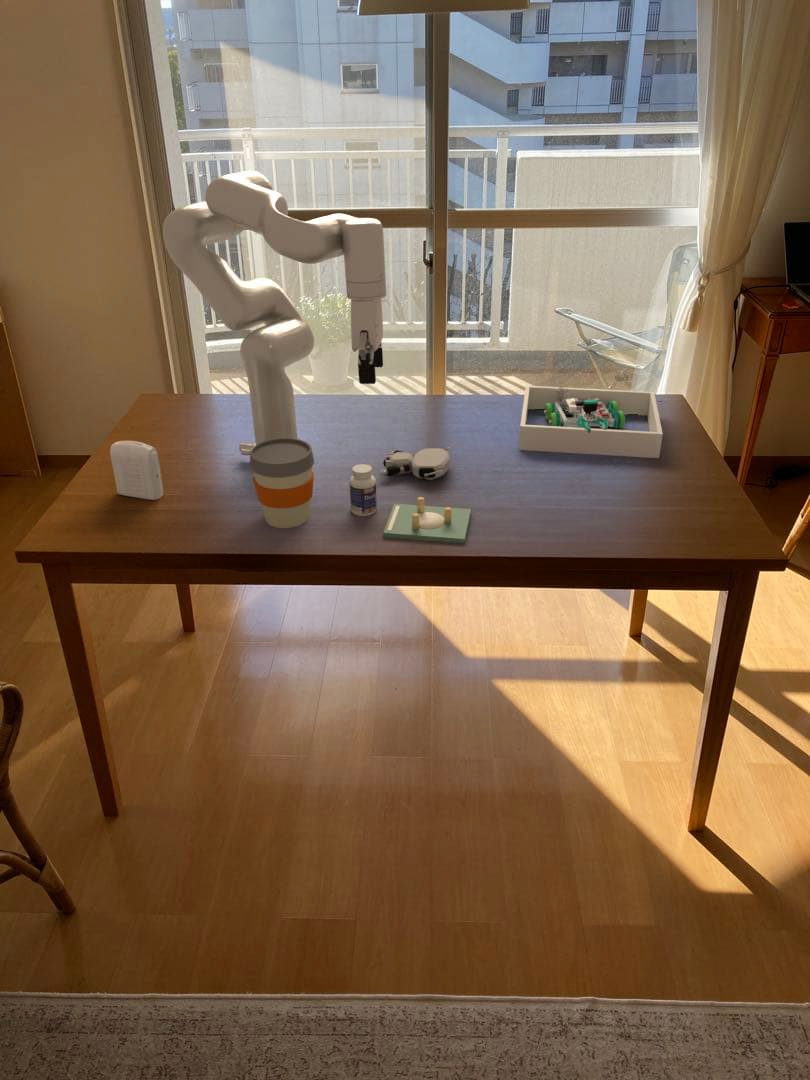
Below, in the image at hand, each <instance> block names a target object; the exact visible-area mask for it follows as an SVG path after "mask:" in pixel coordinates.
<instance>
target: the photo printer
mask: <svg viewBox="0 0 810 1080" xmlns="http://www.w3.org/2000/svg"><path fill="white" fill-rule="evenodd" d="M109 449H110V451H109V454H110V460H111V465H112V470H113V471H112V472H113V475H114V480H115V486H116V491H117V494H118V495H121V496H126V497H133V498H139V499H143V500H152V501H157V500H160V499H161V498H162V497H163V495H164V486H163V485H164V484H163V480H162V478H163V477H162V472H161V466H160V460H159V453H158V451H157V449H156V448H155V447H154V446H152V445H149V444H146V443H144V442H139V441H137V440H136V441H135V440H120V441H116V442H113V444H111V446H110V448H109Z"/></svg>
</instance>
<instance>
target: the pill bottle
mask: <svg viewBox="0 0 810 1080" xmlns="http://www.w3.org/2000/svg"><path fill="white" fill-rule="evenodd" d="M351 472H352V476H351V478H350V479H349V497H350V499H349V500H350V511H351V513H352V514H354V515H356V516H358V517H359V516H360V517H367V516H372V515H374V514H375V513H376V511H377V510H378V509H377V507H378V506H377V505H378V504H377V480H376V477H375V476H374V475H373V467H372V466H371V465H370V464H364V463H362V464H361V463H360V464H356V465H355V466H352V469H351Z"/></svg>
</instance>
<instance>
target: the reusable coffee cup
mask: <svg viewBox="0 0 810 1080" xmlns="http://www.w3.org/2000/svg"><path fill="white" fill-rule="evenodd" d="M249 458H250V459H249V460H250V461H249V463H250V465H249V466H250V469H251V471H252V472H253V477H252V480H253V484H254V488H255V493H256V496H257V500H258V501H259V503H260V505H261V508H262V510H263V511H262V512H263V515H264V518H265V522H266V523H267V524H268V525H270V526H271V527H274V528H277V529H278V528H279V529H290V528H296V527H299V526H302V525H303V524H305V523H306V522H307V521H308V520H309V519H310V518H309V517H310V511H311V510H310V508H311V507H310V506H311V499H312V497H313V491H314V480H315V479H314V475H315V474H314V471H313V466H314V464H315V458H314V454H313V448H312V446H311V444H310V443H309V442H307V441H305V440H302V439H299V438H297V439H294V438H276V439H270V440H266V441H263V442H261V443H259V444H257V445H255V446H254V447H253V448H252V449H251V452H250V455H249Z"/></svg>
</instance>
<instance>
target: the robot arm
mask: <svg viewBox="0 0 810 1080" xmlns="http://www.w3.org/2000/svg"><path fill="white" fill-rule="evenodd" d="M204 193H205V195H204V198H205V199H204V200H203V201H200V202H194V203H190V204H186V205H183V206H179V207H177V208H176V209H174V210H173V211H171V212H169V214H167V216H166V217H165V219H164V221H163V225H162V237H163V241H164V245H165V249H166V251H167V253H168V256H169V257H170V259H171V261H172V262H173V263H174V264H175V265H176V267H177V268H178V269H179V270H180V272H182V273H183V274H184V276H186V277H187V279H188V280H189V281H191V283H192V284H193V285H194V286H195V287H196V288H197V290H198V291H199V293H200V294H201V296H202V297H203V299H205V301H206V302H207V304H208V305H209V306H210V308H211V310H213V311H214V313H215V314H216V315H217V317H218V318H219V320H220V321H221V322H222V323H223V325H225V327H226V328H228V330H230V331H232V332H241V331H243V332H244V331H246V330H250V329H252V328H254V327H256V326H260V325H262V324H264V325H263V326H261V327H257V328H256V329H253V330H252V331H250V332H249V333H248V334H246V335H245V337H244V338H243V340H242V341H241V344H240V351H239V352H240V358H241V361H242V363H243V367H244V370H245V373H246V378H247V384H248V389H249V398H250V405H251V414H252V415H251V416H252V421H253V424H252V425H253V433H254V434H253V435H254V442H253V443H247V442H240V443H239V446H238V449H239V451H240V455H241V456H250V452H251V449H252V448H253V447H254V446H255V445H257V444H259V443H261V442H263V441H266V440H270V439H276V438H294V439H298V427H297V418H296V417H297V415H296V405H295V404H296V402H295V394H294V393H295V392H294V387H293V384H292V382H291V380H290V378H289V377H288V374H287V373H286V372H285V371H286V370H285V368H287V367H288V366H290V365H293V364H295V363H297V362H299V361H302V360H303V359H305V358H307V357H309V355H310V354H311V353H312V352H313V349H314V347H315V346H314V345H315V338H314V333H313V331H312V328H311V327H310V325H309V323H308V322H307V320H306V319H305V317H303V315H302V314H301V312H300V311H299V310H298V308H297V307H296V306H295V304H294V302H293V301H292V299H290V297H289V296H288V294H287V293H286V292H285V291H284V289H283V288H282V287H281V286H280V285H279V284H278V283H277V282H276V281H274V280H272V279H270V278H268V277H264V276H260V277H253V278H250V279H248V280H243V279H242V278H240V277H239V276H238V275H237V273H236V272H235V270H234V269H233V268H232V267H231V265H230V263H228V262H227V261H226V259H224V258H223V257H221V256H220V255H219V254H217V253H215V252H214V251H212V250H210V249H209V248H207V246H209V245H212V244H216V243H220V242H223V241H227V240H230V239H233V238H235V237H237V236H238V235H240V234H241V233H243V231H245V230H249V231H252V232H254V233H256V234H259V235H261V236H262V237H263V238H264V241H265V242H266V243H267V245H268V246H269V248H270V249H272V250H273V251H274V252H275V253H277V254H279V255H280V256H283V257H285V258H288V259H291V260H293V261H296V262H299V263H301V264H307V265H309V264H310V265H315V264H319V263H322V262H325V261H328V260H331V259H333V258H334V259H335V258H338V257H341V256H343V261H344V273H345V275H344V276H345V285H346V286H345V287H346V289H345V290H346V298H347V299H349V300H350V330H351V331H350V333H351V350H352V351H353V352H354V353H356V352H357V351H358V354H357V358H358V360H357V368H358V369H357V370H358V384H360V385H374V384H376V382H377V379H376V375H377V374H376V368H383V366H384V355H383V354H384V352H383V347H382V344H383V343H382V341H383V338H384V322H383V321H384V320H383V319H384V318H383V307H382V306H383V305H382V299H383V298H385V297H387V285H386V284H387V283H386V264H385V263H386V261H385V259H386V258H385V241H384V227H383V224H382V222H381V221H380V219H379V220H378V219H377V218H371V217H357V216H352V215H350V214H345V213H332V214H329V215H324V216H320V217H317V218H313V219H310V220H306V221H304V220H299V219H297V218H294V217H290V216H288V215H289V208H288V203H287V201H286V198H285V196H283V195H282V194H281V193H280V192H278V191H275V190H274V189H273V186H272V184H271V183H270V181H269V179H268V178H267V177H266V176H265V175H264V174H262V173H260V172H258V171H256V170H245V171H239V172H235V173H229V174H224V175H221V176H218V177H216V178H214V179H212V181H211V182H210V183H209V184H208V185H207V188H206V189H205V192H204Z"/></svg>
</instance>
